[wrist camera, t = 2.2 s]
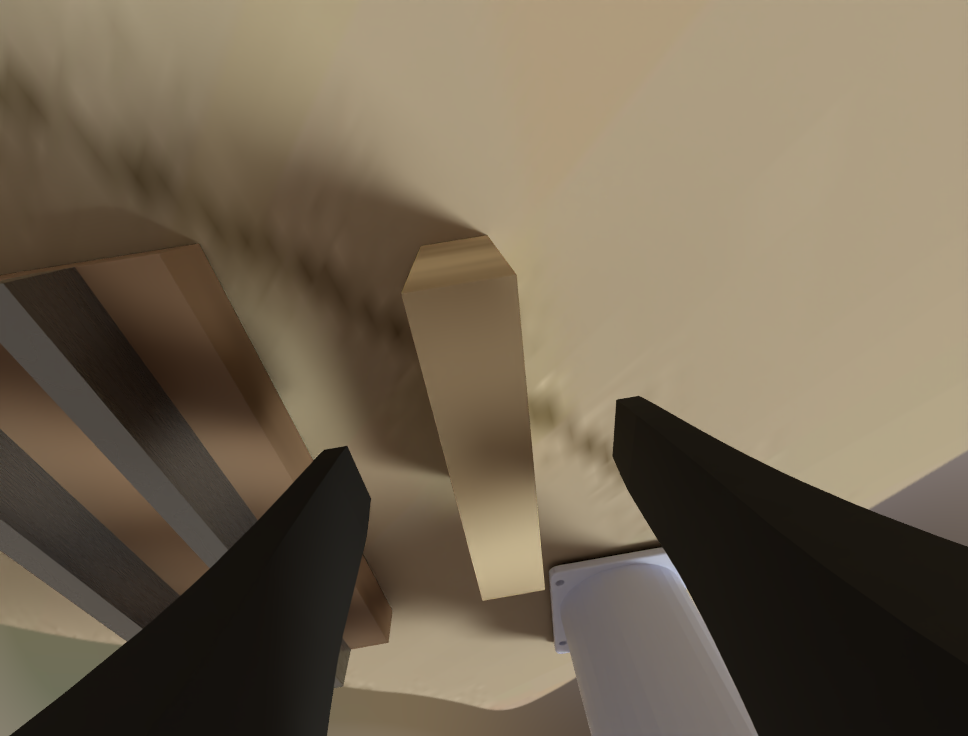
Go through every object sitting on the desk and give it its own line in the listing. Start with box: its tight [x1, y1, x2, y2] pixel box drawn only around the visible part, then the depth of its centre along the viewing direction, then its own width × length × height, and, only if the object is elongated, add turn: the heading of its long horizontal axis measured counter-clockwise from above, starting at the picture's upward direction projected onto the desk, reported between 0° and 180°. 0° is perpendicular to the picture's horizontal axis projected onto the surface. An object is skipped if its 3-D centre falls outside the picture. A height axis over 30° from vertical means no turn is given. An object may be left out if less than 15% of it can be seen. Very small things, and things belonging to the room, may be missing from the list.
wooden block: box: [401, 235, 545, 601], centre depth 10 cm, size 10×2×5 cm, turn 8°
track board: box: [0, 243, 392, 688], centre depth 13 cm, size 20×10×3 cm, turn 8°
